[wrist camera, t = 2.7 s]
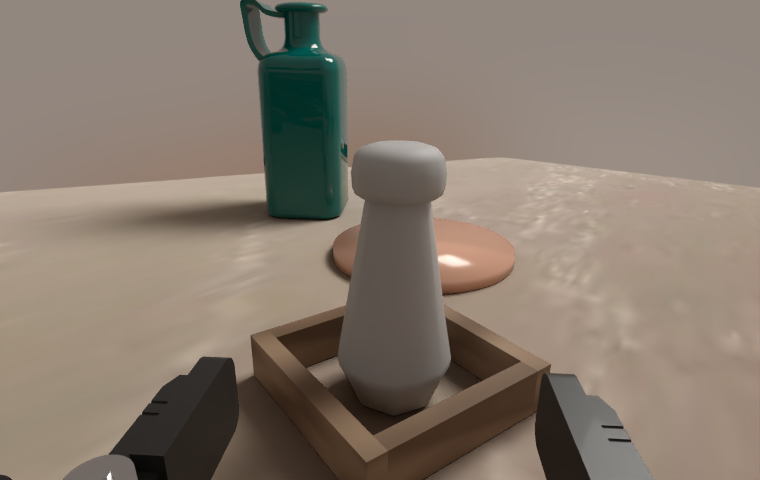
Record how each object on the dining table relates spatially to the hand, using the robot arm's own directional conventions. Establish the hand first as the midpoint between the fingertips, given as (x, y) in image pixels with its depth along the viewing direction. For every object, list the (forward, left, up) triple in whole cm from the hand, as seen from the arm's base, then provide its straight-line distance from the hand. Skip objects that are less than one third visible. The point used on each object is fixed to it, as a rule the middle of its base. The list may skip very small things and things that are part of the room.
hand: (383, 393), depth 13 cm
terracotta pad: (-23, +21, -8) cm, 32 cm away
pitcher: (-42, +19, -9) cm, 47 cm away
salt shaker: (-9, +7, -9) cm, 14 cm away
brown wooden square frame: (-9, +7, -8) cm, 14 cm away
